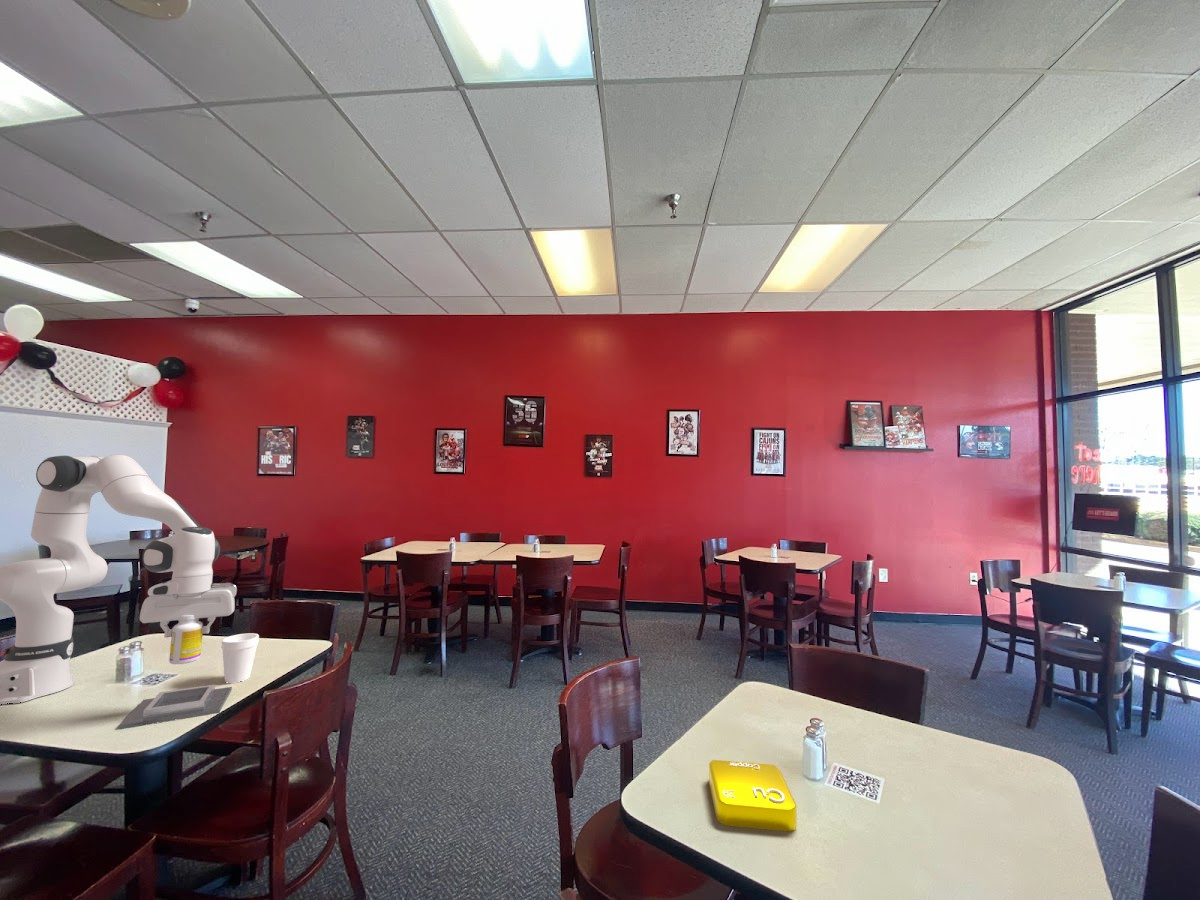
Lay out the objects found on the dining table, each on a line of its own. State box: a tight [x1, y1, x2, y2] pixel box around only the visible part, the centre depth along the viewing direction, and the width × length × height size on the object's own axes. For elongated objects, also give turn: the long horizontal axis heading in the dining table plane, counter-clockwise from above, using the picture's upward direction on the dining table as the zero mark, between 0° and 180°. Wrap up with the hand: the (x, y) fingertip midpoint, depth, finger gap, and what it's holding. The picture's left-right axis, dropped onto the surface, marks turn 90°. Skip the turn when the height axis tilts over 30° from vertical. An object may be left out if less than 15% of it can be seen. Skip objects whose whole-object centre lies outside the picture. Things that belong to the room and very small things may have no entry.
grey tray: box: [119, 684, 233, 730], centre depth 130 cm, size 20×16×3 cm
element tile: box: [708, 759, 798, 832], centre depth 95 cm, size 15×15×5 cm
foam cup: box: [221, 632, 260, 684], centre depth 150 cm, size 10×9×13 cm
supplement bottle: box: [168, 615, 204, 665], centre depth 132 cm, size 7×7×13 cm
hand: (187, 635), depth 132 cm, fingers closed on supplement bottle, 7 cm apart
